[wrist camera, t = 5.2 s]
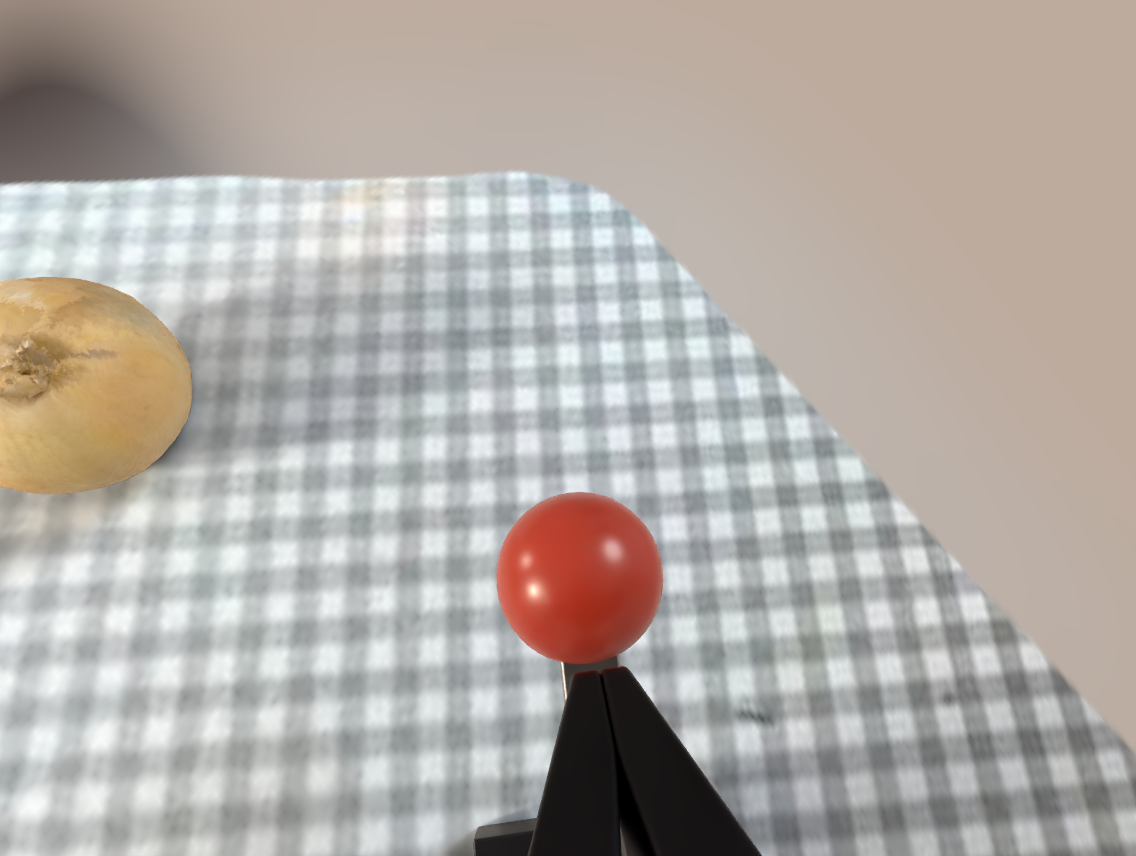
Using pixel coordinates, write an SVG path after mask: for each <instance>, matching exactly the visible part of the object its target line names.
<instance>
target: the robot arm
mask: <svg viewBox="0 0 1136 856" xmlns="http://www.w3.org/2000/svg"><path fill="white" fill-rule="evenodd" d="M620 829H621V833H622V837H623V842H624V846H625V850H626V854H627V856H762V855H761V854H760V852H759V851H758V849H757V848H756V847H755V845H754V844H753V842H752V841H751V839H750V838H749V837H748V835H747V834H746V832H745V831H744V830H743V828H742V827H741V825H740V824H739V823H738V821H737V820H736V818H735V817H734V816H733V814H732V813H731V811H730V810H729V809H728V807H727V806H726V804H725V803H724V802H723V800H722V799H721V797H720V796H719V795H718V793H717V792H716V790H715V789H714V788H713V786H712V785H711V783H710V782H709V781H708V779H707V778H706V776H705V775H704V774H703V772H702V771H701V769H700V768H699V767H698V765H697V764H696V762H695V761H694V760H693V758H692V757H691V755H690V754H689V753H688V751H687V750H686V748H685V747H684V746H683V744H682V743H681V741H680V740H679V738H678V737H677V736H676V734H675V733H674V731H673V730H672V729H671V727H670V726H669V724H668V723H667V722H666V720H665V719H664V717H663V716H662V715H661V713H660V712H659V710H658V709H657V708H656V706H655V705H654V703H653V702H652V701H651V699H650V698H649V696H648V695H647V694H646V692H645V691H644V689H643V688H642V687H641V685H640V684H639V682H638V681H637V680H636V678H635V677H634V675H633V674H632V673H631V671H630V670H629V669H628V668H626V667H624V666H622V667H614V668H607V669H603V670H602V671H601V673H599V672H598V671H596V670H592V671H585V672H578V673H575V674H574V675H573V676H572V678H571V682H570V686H569V690H568V694H567V698H566V702H565V706H564V710H563V714H562V719H561V723H560V727H559V731H558V735H557V739H556V743H555V747H554V751H553V755H552V759H551V763H550V767H549V771H548V776H547V780H546V784H545V788H544V792H543V796H542V800H541V804H540V808H539V812H538V816H537V820H536V824H535V828H534V832H533V837H532V841H531V845H530V849H529V853H528V856H622V854H621V833H620Z"/></svg>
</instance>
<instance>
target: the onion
mask: <svg viewBox="0 0 1136 856" xmlns="http://www.w3.org/2000/svg"><path fill="white" fill-rule="evenodd" d="M191 403H192V376H191V371H190V366H189V362H188V361H187V358H186V356H185V354H184V352H183V350H182V348H181V346H180V344H179V343H178V341H177V340H176V338H175V337H174V336H173V334H172V333H171V332H170V331H169V330H168V328H167V327H166V326H165V325H164V324H163V323H162V322H161V321H160V320H159V319H158V318H157V317H156V316H155V315H154V314H152V313H151V312H150V311H149V310H148V309H147V308H146V307H144V306H143V305H142V304H140V303H139V302H138V301H137V300H136V299H134V298H133V297H131V296H129V295H127V294H124V293H122V292H120V291H118V290H116V289H113V288H111V287H108V286H105V285H102V284H98V283H94V282H90V281H86V280H80V279H73V278H57V277H38V278H26V279H18V280H7V281H2V282H0V487H5V488H9V489H13V490H17V491H22V492H29V493H38V494H67V493H75V492H83V491H88V490H92V489H97V488H101V487H106V486H109V485H112V484H115V483H118V482H121V481H124V480H126V479H129V478H131V477H132V476H134V475H136V474H138V473H139V472H141V471H143V470H145V469H147V468H148V467H149V466H150V465H151V464H153V463H154V462H155V461H156V460H157V459H159V458H160V457H161V456H162V455H163V454H164V453H165V451H166V450H167V449H168V447H169V446H170V445H171V444H172V443H173V442H174V440H175V439H176V437H177V436H178V434H179V433H180V432H181V429H182V427H183V426H184V424H185V423H186V422H187V420H188V416H189V413H190V409H191Z"/></svg>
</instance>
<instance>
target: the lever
mask: <svg viewBox="0 0 1136 856" xmlns="http://www.w3.org/2000/svg"><path fill="white" fill-rule="evenodd" d="M662 588H663V570H662V563H661V558H660V554H659V551H658V548H657V545H656V543H655V541H654V539H653V537H652V535H651V533H650V532H649V530H648V529H647V527H646V526H645V525H644V524H643V522H642V521H641V520H640V519H639V518H638V517H637V516H636V515H635V514H634V513H633V512H632V511H631V510H629V509H628V508H626V507H625V506H624V505H622V504H621V503H619V502H617V501H615V500H613V499H610V498H608V497H605V496H602V495H598V494H593V493H584V492H576V493H566V494H561V495H557V496H554V497H551V498H548V499H546V500H544V501H542V502H540V503H538V504H537V505H535V506H534V507H532V508H531V509H530V510H528V511H527V512H526V513H525V514H524V515H522V517H521V518H520V519H519V520H518V521H517V522H516V523H515V525H514V526H513V527H512V529H511V530H510V532H509V533H508V535H507V537H506V539H505V541H504V543H503V546H502V549H501V551H500V555H499V560H498V565H497V591H498V597H499V601H500V604H501V607H502V610H503V612H504V615H505V617H506V619H507V621H508V622H509V624H510V625H511V627H512V629H513V630H514V631H515V632H516V634H517V635H518V636H519V637H520V638H521V639H522V640H523V641H524V642H525V643H526V644H527V645H528V646H529V647H531V648H532V649H533V650H535V651H536V652H538V653H540V654H541V655H543V656H545V657H547V658H550V659H553V660H556V661H559V662H560V665H561V674H562V683H563V692H564V702H566V698H567V694H568V690H569V686H570V682H571V678H572V676H573V675H574V674H575V673H578V672H585V671H592V670H596V671H598V672H599V673H601V671H602V670H603V669H607V668H614V667H621V664H620V655H619V654H621V653H622V652H624V651H625V650H627V649H628V648H629V647H631V646H632V645H633V644H634V643H635V642H636V641H637V640H639V638H640V637H641V636H642V635H643V634H644V633H645V632H646V630H647V629H648V627H649V626H650V624H651V622H652V621H653V619H654V617H655V614H656V612H657V610H658V607H659V604H660V600H661V595H662ZM620 833H621V829H620ZM621 854H622V856H627V854H626V850H625V846H624V842H623V837H622V833H621Z"/></svg>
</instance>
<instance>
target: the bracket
mask: <svg viewBox="0 0 1136 856" xmlns="http://www.w3.org/2000/svg"><path fill="white" fill-rule="evenodd" d="M536 820H537V818H534V819H527V820H521V821H514V822H507V823H501V824H494V825H487V826H481V827H478V829H477V832H476V835H475V838H474V842H473V844H474V856H528V853H529V849H530V845H531V841H532V837H533V832H534V828H535V824H536Z"/></svg>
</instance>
